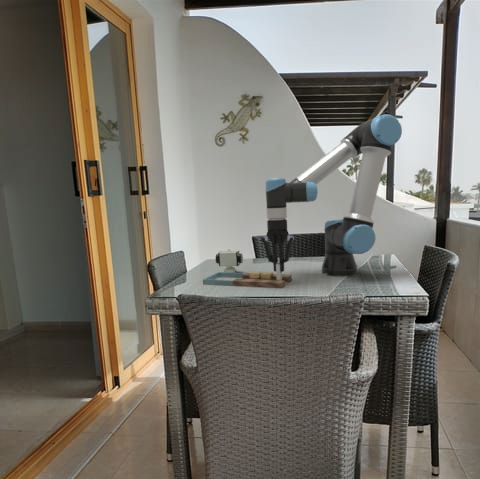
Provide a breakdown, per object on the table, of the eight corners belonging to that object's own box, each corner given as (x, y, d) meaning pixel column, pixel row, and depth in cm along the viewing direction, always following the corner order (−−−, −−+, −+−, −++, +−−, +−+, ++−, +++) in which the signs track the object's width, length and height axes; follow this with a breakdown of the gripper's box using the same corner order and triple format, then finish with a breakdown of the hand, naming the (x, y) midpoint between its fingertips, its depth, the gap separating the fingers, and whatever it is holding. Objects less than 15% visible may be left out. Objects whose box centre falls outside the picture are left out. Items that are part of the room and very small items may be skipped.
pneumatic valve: (241, 276, 159) (240, 249, 157) (216, 276, 161) (214, 250, 160) (244, 273, 164) (242, 248, 163) (219, 273, 167) (218, 248, 165)
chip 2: (273, 281, 141) (273, 271, 141) (270, 284, 138) (270, 274, 137) (264, 281, 143) (263, 271, 142) (261, 283, 139) (260, 273, 139)
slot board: (291, 281, 144) (291, 274, 143) (282, 291, 131) (281, 283, 130) (246, 280, 151) (245, 273, 151) (232, 288, 139) (232, 280, 138)
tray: (246, 280, 151) (245, 273, 151) (232, 288, 139) (232, 280, 138) (218, 278, 156) (218, 272, 156) (203, 286, 144) (202, 279, 143)
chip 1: (262, 281, 143) (262, 271, 143) (259, 283, 139) (259, 273, 139) (253, 280, 145) (253, 271, 144) (250, 283, 141) (249, 273, 140)
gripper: (296, 218, 136) (298, 278, 139) (263, 218, 141) (266, 277, 144) (291, 219, 129) (293, 282, 132) (257, 220, 134) (260, 281, 137)
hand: (279, 279), depth 138 cm, fingers closed
